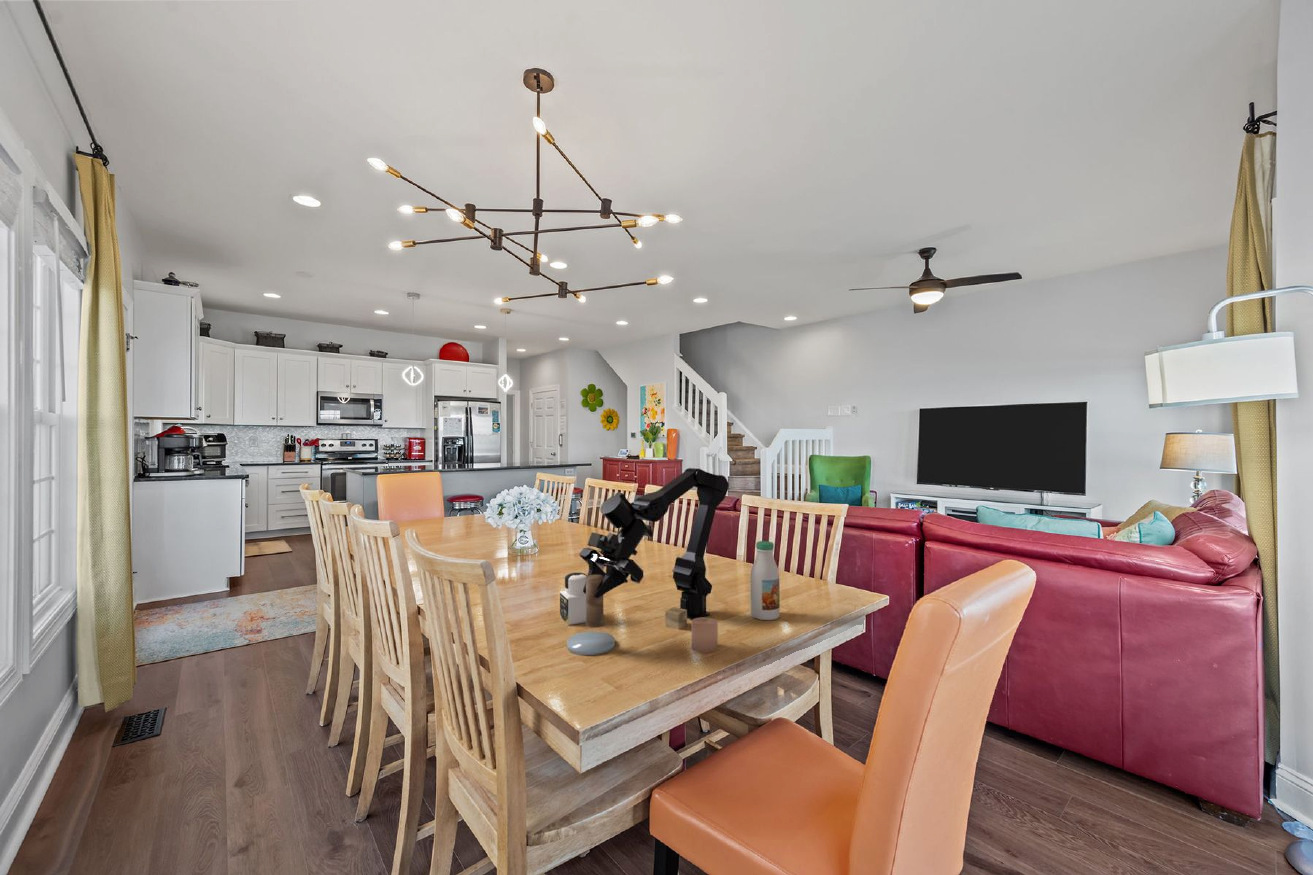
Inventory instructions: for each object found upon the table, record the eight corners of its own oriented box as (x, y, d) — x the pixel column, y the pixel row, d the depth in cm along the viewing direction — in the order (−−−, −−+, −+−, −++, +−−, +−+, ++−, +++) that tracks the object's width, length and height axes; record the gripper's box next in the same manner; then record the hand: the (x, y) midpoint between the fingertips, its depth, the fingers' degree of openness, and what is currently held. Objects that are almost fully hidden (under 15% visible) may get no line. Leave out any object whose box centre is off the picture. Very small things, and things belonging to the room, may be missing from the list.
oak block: (673, 622, 138) (673, 606, 138) (686, 625, 136) (686, 609, 136) (665, 626, 135) (665, 611, 135) (678, 630, 132) (678, 614, 132)
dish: (600, 633, 130) (600, 628, 130) (623, 647, 121) (623, 642, 121) (559, 643, 124) (559, 637, 124) (580, 659, 115) (580, 653, 115)
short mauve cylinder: (706, 640, 125) (706, 615, 125) (723, 649, 120) (723, 623, 120) (686, 646, 122) (686, 620, 122) (702, 655, 117) (702, 628, 117)
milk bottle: (750, 620, 139) (750, 544, 139) (750, 610, 147) (750, 539, 146) (780, 621, 138) (780, 545, 138) (778, 612, 145) (778, 539, 145)
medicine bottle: (559, 617, 142) (559, 572, 142) (584, 612, 145) (584, 569, 145) (567, 625, 135) (567, 579, 135) (593, 621, 139) (593, 575, 138)
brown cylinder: (602, 620, 123) (602, 574, 123) (604, 626, 120) (604, 578, 120) (585, 622, 123) (585, 575, 123) (586, 628, 119) (586, 579, 119)
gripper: (585, 514, 131) (546, 566, 123) (633, 524, 117) (592, 583, 109) (610, 542, 136) (575, 593, 129) (659, 553, 122) (622, 612, 115)
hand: (589, 594), depth 120 cm, fingers closed on brown cylinder, 4 cm apart
